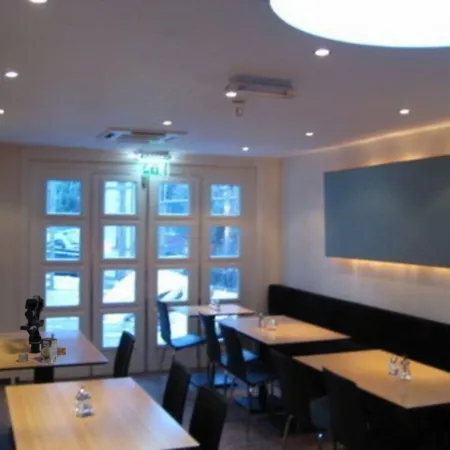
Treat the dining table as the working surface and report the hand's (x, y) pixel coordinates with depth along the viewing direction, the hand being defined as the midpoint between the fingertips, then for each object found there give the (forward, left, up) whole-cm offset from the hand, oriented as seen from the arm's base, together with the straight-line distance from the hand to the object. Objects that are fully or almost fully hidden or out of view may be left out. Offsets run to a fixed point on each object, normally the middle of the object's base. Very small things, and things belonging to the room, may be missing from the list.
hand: (31, 338), depth 427 cm
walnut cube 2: (-12, +16, -13) cm, 24 cm away
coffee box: (+10, +22, -13) cm, 27 cm away
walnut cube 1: (+14, +4, -13) cm, 20 cm away
